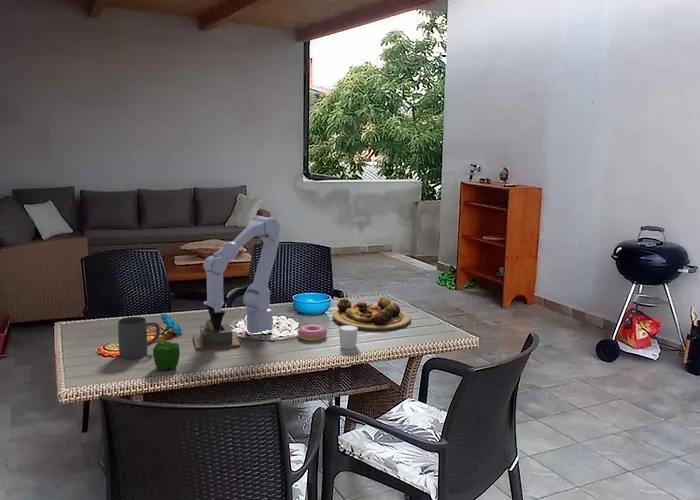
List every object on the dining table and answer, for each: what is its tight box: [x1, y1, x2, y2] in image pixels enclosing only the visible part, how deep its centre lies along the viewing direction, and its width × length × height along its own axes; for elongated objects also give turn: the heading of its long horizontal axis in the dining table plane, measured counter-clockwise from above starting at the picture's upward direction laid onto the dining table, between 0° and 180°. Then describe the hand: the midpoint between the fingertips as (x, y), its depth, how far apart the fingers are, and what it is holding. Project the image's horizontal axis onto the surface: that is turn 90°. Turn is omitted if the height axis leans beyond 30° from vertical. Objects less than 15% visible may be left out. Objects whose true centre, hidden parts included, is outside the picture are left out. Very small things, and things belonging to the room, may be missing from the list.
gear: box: [160, 313, 183, 335], centre depth 242 cm, size 11×6×10 cm
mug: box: [117, 316, 161, 360], centre depth 219 cm, size 14×9×12 cm
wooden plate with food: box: [332, 296, 412, 332], centre depth 265 cm, size 32×32×8 cm
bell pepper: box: [152, 338, 181, 371], centre depth 207 cm, size 8×8×10 cm
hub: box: [192, 323, 241, 351], centre depth 233 cm, size 15×15×5 cm
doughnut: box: [297, 324, 328, 342], centre depth 241 cm, size 11×11×4 cm
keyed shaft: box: [204, 319, 221, 332], centre depth 233 cm, size 5×4×7 cm
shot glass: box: [338, 325, 359, 350], centre depth 232 cm, size 7×7×7 cm
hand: (215, 326), depth 233 cm, fingers open, 7 cm apart
